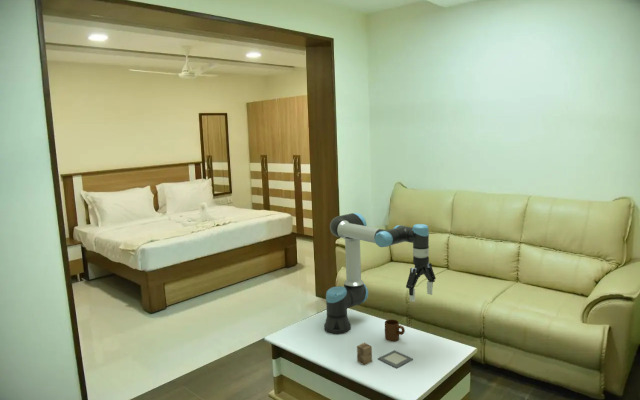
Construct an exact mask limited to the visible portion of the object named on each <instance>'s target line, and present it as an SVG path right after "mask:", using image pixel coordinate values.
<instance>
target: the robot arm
mask: <svg viewBox="0 0 640 400" xmlns="http://www.w3.org/2000/svg"><path fill="white" fill-rule="evenodd" d="M329 231H330V232H331V234H332V235H333V236H335V237H337V238H341V239H343V240H344V243H345V244H344V245H345V248H344V249H345V250H344V251H345V275H346V276H345V278H346V279H345V281H343V285H342V286H341V285H338V286H332V287H330V288H329V289H328V290H327V291H326V292H325V293H326V294H325V303H326V304H325V305H326V317H325V321H324V324H323V327H324V328H323V329H324V331H325V332H326V333H327V334H332V335H343V334H347V333H348V332H350V331H351V330H352V329H351V326H352V325H351V322H350V320H349V316H348V309H349V308H352V307H356V306H359V305H362V304H363V303H365V302H366V301H367V300H368V297H369V289H368V288H367V285H366V284H365V283H364V280H363V279H362V263H361V261H362V260H361V259H362V258H361V241H362V242H368V243H373V244H376V245H377V246H378V247H379V248H387V247H390V246H394V245H397V244H402V243H405V242H407V243H411V244H412V256H413V257H412V263H413V265H414V267H410V268H409V275H408V278H407V282H406V285H405V288H406V289H408V290H409V291H408V295H409V301H410V302H412V303H416V289H415V286H416V284H417V282H418V281H419V278H420V277H421V276H423V275H424V276H425V278H426V280H427V281H426V294H427V295H430V296H432V295H433V287H434V282H436V279H437V277H436V275H435V272H434V269H433V266H432V265H433V264H432V263H430V257H429V255H430V253H429V252H430V249H429V248H430V245H429V243H430V242H429V240H430V232H429V226H428V225H427V224H423V223H416V224H414V225H412V227H411V226H405V225H398V224H397V225H395V226H394V227H393V228H391V229H382V228H379V227H373V226H367V221H366V218H365V217H364V216H363V214H361V213H358V212H355V213H348V214H343V215H337V216H336V217H334V218H332V220H331V221H330V223H329Z"/></svg>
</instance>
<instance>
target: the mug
mask: <svg viewBox="0 0 640 400" xmlns="http://www.w3.org/2000/svg"><path fill="white" fill-rule="evenodd" d="M400 329H401V330H400ZM405 333H406V329H405V327H404V326H403V325H400V322H399V321H398V320H397V319H391V318H390V319H387V320H385V321H384V338H385V340H386V341H387V342H397V341H399V339H400V336H401V335H403V334H405Z"/></svg>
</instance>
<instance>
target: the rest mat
mask: <svg viewBox="0 0 640 400" xmlns="http://www.w3.org/2000/svg"><path fill="white" fill-rule="evenodd" d="M377 360H379V361H380V362H383V363H384V364H387V365H388V366H390V367H392V368H394V369H398V368H401V367H403V366H404V365H407V364H408V363H409V362H411V361H413V360H414V358H412V357H410V356H408V355H405V354H403V353H401V352H399V351H397V350H395V349H394V350H392V351H390V352H388V353H386V354H383V355H382V356H379V357H377Z"/></svg>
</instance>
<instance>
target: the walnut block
mask: <svg viewBox="0 0 640 400" xmlns="http://www.w3.org/2000/svg"><path fill="white" fill-rule="evenodd" d="M356 356H357V359H356V360H357V362H358V363H360V364H361V365H364V366H367V365H368V364H370V363H372V362H373V346H372V345H370V344H368V343H366V342H363V343H360V344H358V345H357V346H356Z"/></svg>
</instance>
